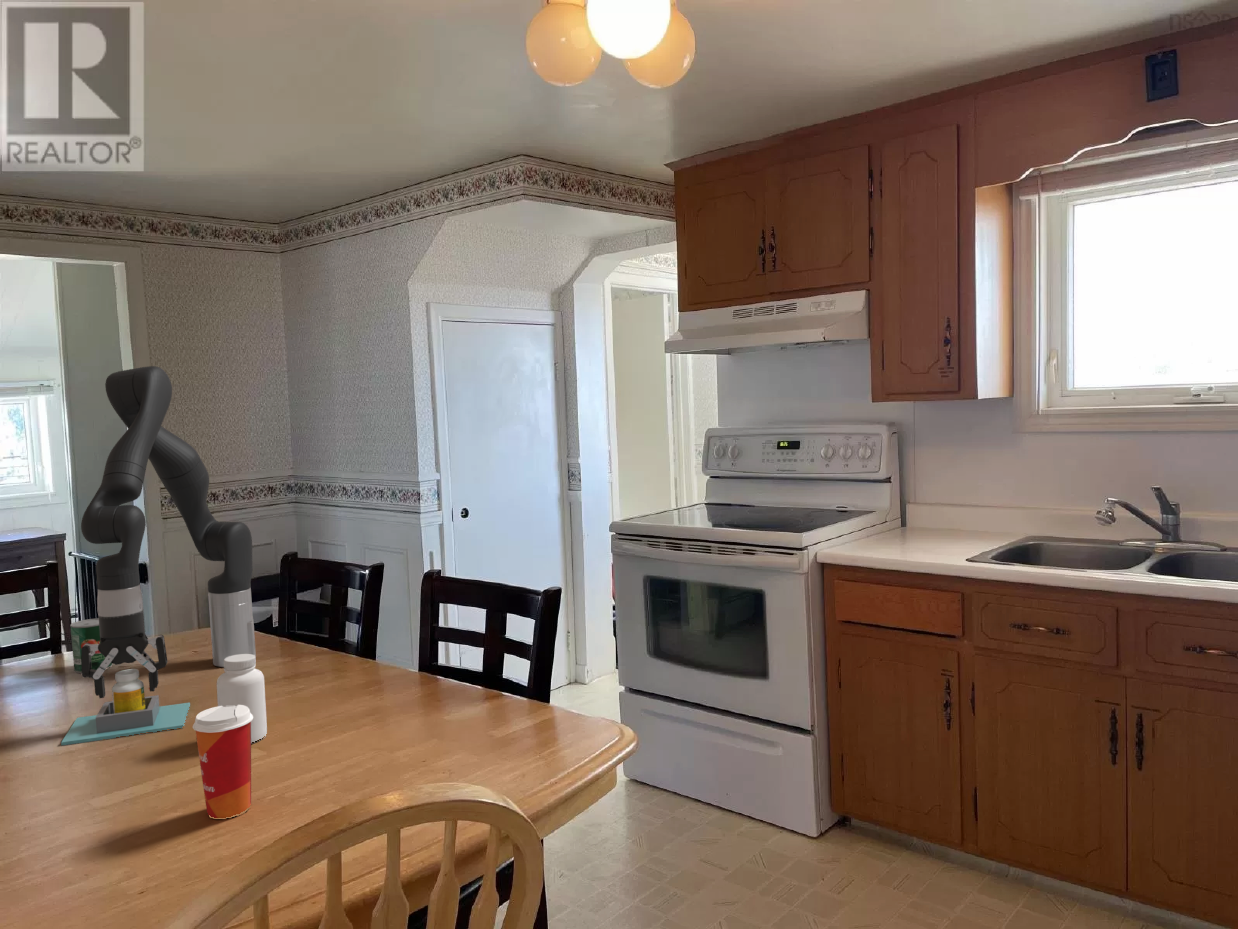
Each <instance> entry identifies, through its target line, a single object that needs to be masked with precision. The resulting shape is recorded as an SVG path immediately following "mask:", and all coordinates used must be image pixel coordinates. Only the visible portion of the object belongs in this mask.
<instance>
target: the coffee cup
mask: <svg viewBox="0 0 1238 929" xmlns="http://www.w3.org/2000/svg"><path fill="white" fill-rule="evenodd" d="M252 719H253V715H252V714H251V713H250V710H249V708H248V707H247V706H244V705H238V706H235V705H226V707H223V706H218V705H217V706H213V707H210V708H207V709H204V710H202V711H200V712H198V713H197V715H196V716H195V720H194V723H193V724H192V729H193V730H194V731H195V735H196V736H195V737H196V742H197V750H198V759H199V765H200V772H201V779H202V787H203V795H204V801H205V807H206V813H208V814H207V816H208V815H210V816H211V817H214V818H226V817H231V816H233V815H236V814H240V813H241V812H243V811H245V810H246V809H247V808H249V807H250V805H251V806H252V743H251V721H252Z"/></svg>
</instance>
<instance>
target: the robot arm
mask: <svg viewBox="0 0 1238 929" xmlns="http://www.w3.org/2000/svg"><path fill="white" fill-rule="evenodd" d="M104 385H105V393H106V396H107V399H108V401H109V403H110V405H111V406H112V408H113V410H114V411H115V413H116V414H117V415H118V417H119V418H120V420H121V421H122V422H123V424H124V425H125V426H126V427H127V430H126V431H125V432H124V433H123V435H122V436H121V437H120V438H119V439H118V440H117V442H116V443H115V445H114V446H113V447H112V449H111V450H110V452H109V454H108V456H107V458H106V462H105V466H104V470H103V475H102V479H101V483H100V485H99V488H98V489H97V490H96V492H95V494H94V495H93V497H92V499H91V501H90V503H89V504H88V506H87V507H86V508H85V511H84V513H83V515H82V518H81V522H80V523H81V524H80V530H81V534H82V536H83V537H84V539H85V540H86V541H87V542H89V543H90V544H95V545H100V544H102V545H104V544H119V543H121V548H120V550H119V551H118V552H117V553H114V554H111V555H106V556H103V557H101V558H99V559H98V560H97V561H96V563H95V564H96V565H95V571H96V572H95V573H96V584H97V598H96V600H97V602H96V603H97V608H96V609H97V614H98V617H97V618H99V629H100V643H99V644H90V643H86V644H85V645H84V646H83V647H82V649H81V660H82V673H81V677H83V678H90V679H92V680H93V682H94V683H93V684H94V694H95V696H98V697H99V699H104V698H105V697H106V684H105V683H106V682H105V676H104V675H103V674H104V672H105V670H107V669H106V668H107V667H108V665H109V664H110V663H112V664H113V665H115V666H116V665H121V664H133V663H135V662H138V664H140V665H141V666H142V667H143V666H144V668H146V669H147V671H148V684H149V687H148V688H149V692H154V691H155V690H156V689H157V688H158V686H159V670H161V669H162V668H163V669H164V668H166V666H167V664H168V662H169V661H168V655H167V654H168V653H167V649H166V642H165V636H164V635H163V634H158V635H157V636H154V637H148V636H147V635H146V627H145V613H144V602H143V600H144V599H143V593H142V590H141V583H140V571H139V567H140V566H139V560H140V555H141V554H140V553H141V548H142V542H143V539H144V534H145V531H146V527H147V526H146V523H147V522H146V516H145V513H144V512H143V511H142V509H141V508H140V507H138V506H137V505H133V504H127V505H126V503H130V502H133V501H136V500H138V498H140V496H141V494H142V491H143V487H144V482H145V476H146V475H145V474H146V472H147V466H148V461H149V462H150V464H151V465H152V467H153V470H154V471H155V473H156V475H157V476H158V478H159V480H160V481H161V484H162V485H163V486H164V488H165V489H166V491H167V493H168V494H169V496H170V497H171V500H172V501H173V503H174V504H175V507H176V508H177V510H178V511H179V514H180V515H181V517H182V519H183V521H184V523H185V525H186V528H187V531H188V532H189V534H190V537H191V539H192V542H193V544H194V546H195V549H196V550H197V552H198V553H199V555H200V556H201V557H202V558H203V559H205V560H207V561H211V562H224V568H223V572H221V573H220V574H218V575H215V576H212V577H211V578H210V579H209V580H208V581H207V592H208V593H207V595H208V596H207V597H208V607H209V608H208V609H209V610H208V611H209V622H210V623H209V624H210V638H211V650H212V651H211V652H212V664H213V665H214V666H216V667H221V668H224V659H225V658H227V657H229V656H233V655H238V654H252V655H255V657H256V656H257V654H256V639H255V625H254V624H255V623H254V617H253V616H254V615H253V603H252V589H251V587H252V586H251V581H252V577H253V538H252V533H251V530H250V528H249V526H248V525H247V524H246V523H244V522H241V521H218V520H217V519H216V518H215V517H214V516H213V514H212V513H211V510H210V507H208V504H207V498H208V493H209V487H210V475H209V472H208V470H207V467H206V466H205V464H204V462H203V461H202V459H201V457H200V455H199V453H198V452H197V450H196V449H195V448H194V447H193V446H192V445H191V444H189V443H188V442H187V441H186V440H183V439H182V438H181V437H179V436H178V435H176V434H174V433H173V432H172V431H170V430H168V429H166V428H165V427H163V426H162V424H163V422H164V420H165V417H166V414H167V413H168V410H169V408H170V404H171V401H172V395H173V387H172V381H171V379H170V377H169V375H168V373H167V372H166V371H165V370H164V369H163V368H162V367H159V366H157V365H156V366H155V365H151V366H141V367H135V368H130V369H125V370H119V371H116V372H115V371H114V372H112V373H111V374H109V375H108V376H107V377H106V380H105V384H104ZM148 645H151V647H152V648H153V649H155V650H156V654H157V661H155V660H153V659H152V657H151V656H150V655H149V654H148V653H147V652H146V651H145V650H146V648H147V647H148ZM96 650H99V652H100V653H101V654H102V655H104V656H105V657H106V658H105V659H104V661H103V662H102V663H101V665H100V666H99V668H98V669H97V670H94V669H91V656H93V655H94V654H95V651H96ZM256 658H257V657H256Z"/></svg>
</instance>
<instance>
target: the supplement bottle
mask: <svg viewBox="0 0 1238 929" xmlns="http://www.w3.org/2000/svg"><path fill="white" fill-rule="evenodd" d="M139 678H140V670H139V669H138V668H131V669H129V668H128V669H124V670H119V671H117V672H115V674H114V679H115V682H116V683H114V685H112V687H111V693H112V694H111V696H112V701H113V709H114V714H115V713H122V712H129V711H137V710H144V709H145V697H146V696H145V685H144V682H143V681H142V680H141V679H139Z"/></svg>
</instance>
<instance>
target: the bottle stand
mask: <svg viewBox="0 0 1238 929" xmlns="http://www.w3.org/2000/svg"><path fill="white" fill-rule="evenodd" d="M144 697H145V709H144V710H137V711H129V712H122V713H115V714H114V709H113V700H111V701H104V703H103V704H102V706H101V708H100V709H99V711H98V713H97V714H96V715H95V714H94V715H89V716H88V715H86V716H78V717H77V718H76V719H75V720H74V722H73V724H72V725H71V727H70V728H69V730H68V731H67V733H66V734H65V736H64V737H63V739H62V740H61V747H62V746H70V745H76V744H83V743H89V742H97V741H103V739H105V740H110V739H111V740H112V739H117V738H116V737H119V738H121V737H120V736H126V737H130V736H129V735H132V736H135V735H134V734H139V735H141V734H140V733H146V732H153V733H158V732H157V731H160V732H163V731H162V730H167V729H174V730H178V729H177V728H181V729H183V728H182V727H183V726H184V727H185V724H186V721H185V720H187V718H186V716H187V717H188V714H189V711H188V710H190V708H191V702H184V703H176V704H169V705H168V704H167V705H160V699H159V698H160V696H159V694H156V695H150V696H149V695H148V696H144ZM189 707H190V708H189ZM187 713H188V714H187ZM184 723H185V724H184ZM167 731H168V730H167ZM146 734H147V733H146Z"/></svg>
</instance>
